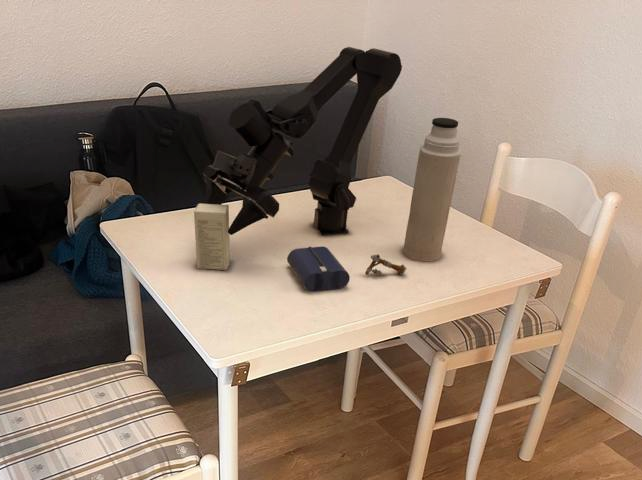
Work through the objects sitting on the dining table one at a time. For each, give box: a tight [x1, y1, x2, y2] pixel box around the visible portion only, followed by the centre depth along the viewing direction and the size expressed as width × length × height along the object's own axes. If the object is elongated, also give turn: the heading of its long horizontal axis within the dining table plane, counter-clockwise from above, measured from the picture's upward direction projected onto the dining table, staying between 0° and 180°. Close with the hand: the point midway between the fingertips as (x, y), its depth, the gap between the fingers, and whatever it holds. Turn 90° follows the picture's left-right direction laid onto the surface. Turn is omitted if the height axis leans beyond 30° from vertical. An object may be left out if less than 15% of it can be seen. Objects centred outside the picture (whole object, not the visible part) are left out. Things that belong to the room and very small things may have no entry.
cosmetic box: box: [193, 203, 231, 271], centre depth 133 cm, size 6×4×12 cm
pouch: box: [286, 245, 351, 293], centre depth 132 cm, size 9×11×4 cm
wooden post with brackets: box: [364, 253, 408, 277], centre depth 135 cm, size 2×8×4 cm, turn 102°
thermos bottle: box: [402, 117, 462, 262], centre depth 137 cm, size 8×8×28 cm
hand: (215, 225), depth 132 cm, fingers open, 9 cm apart
